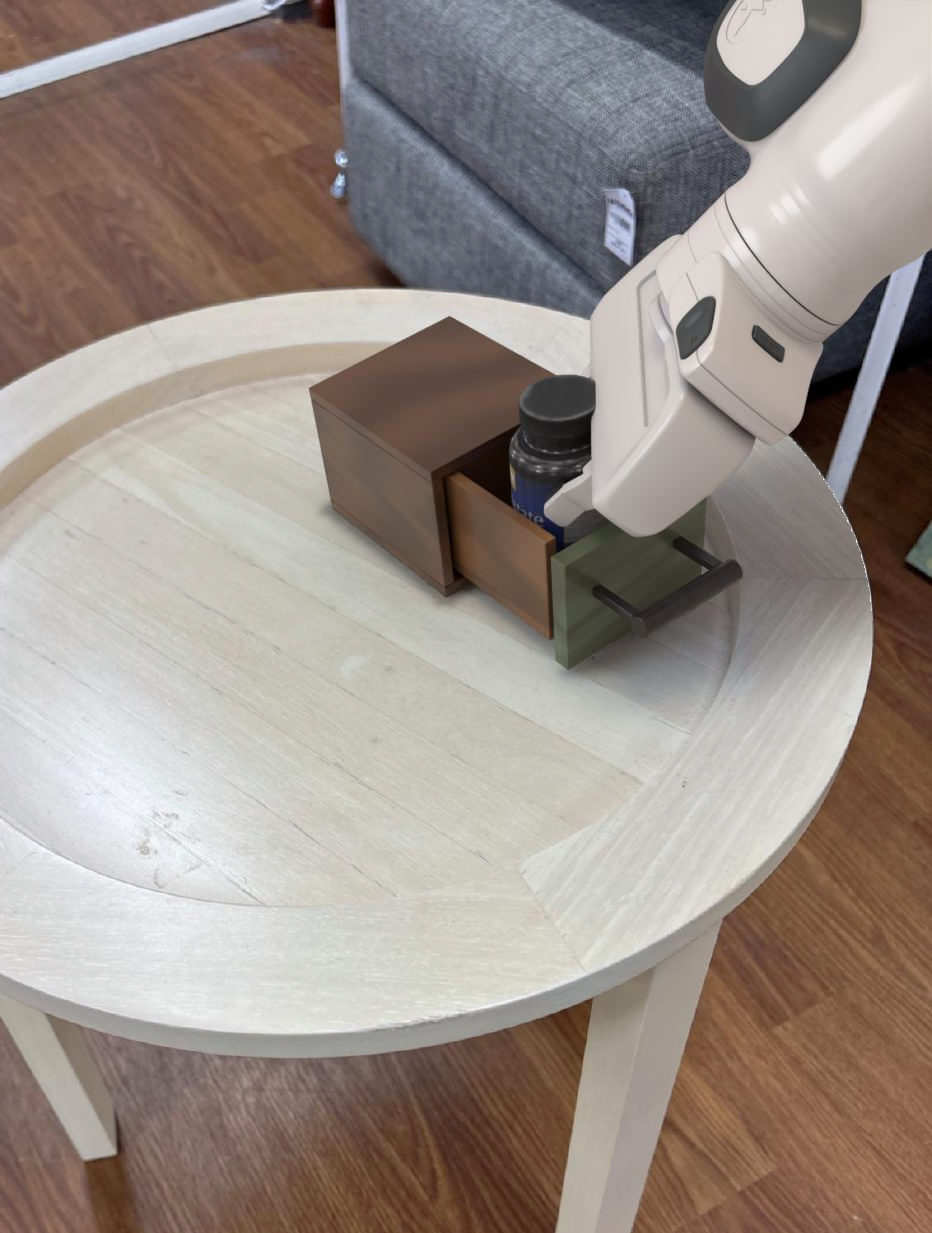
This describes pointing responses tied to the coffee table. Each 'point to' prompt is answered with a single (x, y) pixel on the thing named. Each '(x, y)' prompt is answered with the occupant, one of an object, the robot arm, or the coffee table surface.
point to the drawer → (576, 566)
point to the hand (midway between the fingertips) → (553, 475)
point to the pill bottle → (553, 450)
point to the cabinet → (416, 435)
